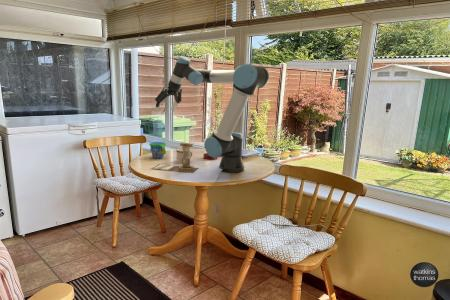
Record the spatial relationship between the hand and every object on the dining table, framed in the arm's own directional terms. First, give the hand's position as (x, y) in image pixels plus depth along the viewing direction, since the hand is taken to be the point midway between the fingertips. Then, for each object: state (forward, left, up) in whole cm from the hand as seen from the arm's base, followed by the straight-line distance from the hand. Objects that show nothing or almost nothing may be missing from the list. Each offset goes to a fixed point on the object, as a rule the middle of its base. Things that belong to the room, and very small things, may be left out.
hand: (164, 110), depth 194 cm
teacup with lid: (-14, 0, -33) cm, 36 cm away
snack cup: (+9, -9, -33) cm, 36 cm away
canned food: (-26, -19, -34) cm, 46 cm away
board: (-15, +20, -33) cm, 42 cm away
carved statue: (-22, +20, -32) cm, 44 cm away
